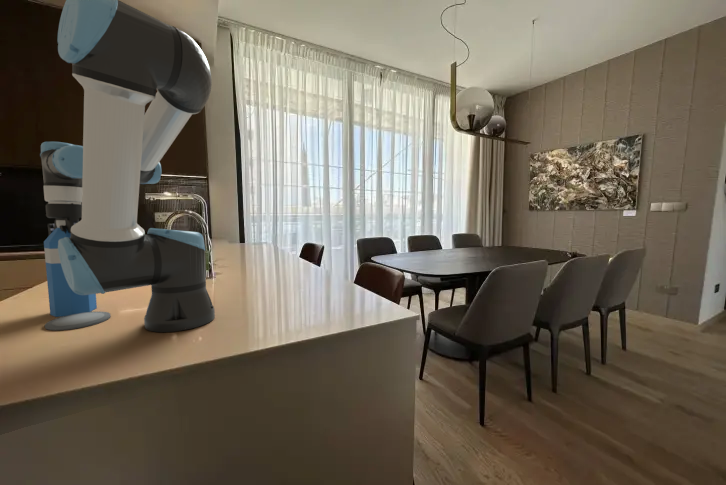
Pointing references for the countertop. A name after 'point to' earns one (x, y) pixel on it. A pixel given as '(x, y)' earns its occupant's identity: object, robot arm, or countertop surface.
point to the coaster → (77, 321)
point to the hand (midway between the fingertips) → (72, 286)
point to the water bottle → (62, 281)
